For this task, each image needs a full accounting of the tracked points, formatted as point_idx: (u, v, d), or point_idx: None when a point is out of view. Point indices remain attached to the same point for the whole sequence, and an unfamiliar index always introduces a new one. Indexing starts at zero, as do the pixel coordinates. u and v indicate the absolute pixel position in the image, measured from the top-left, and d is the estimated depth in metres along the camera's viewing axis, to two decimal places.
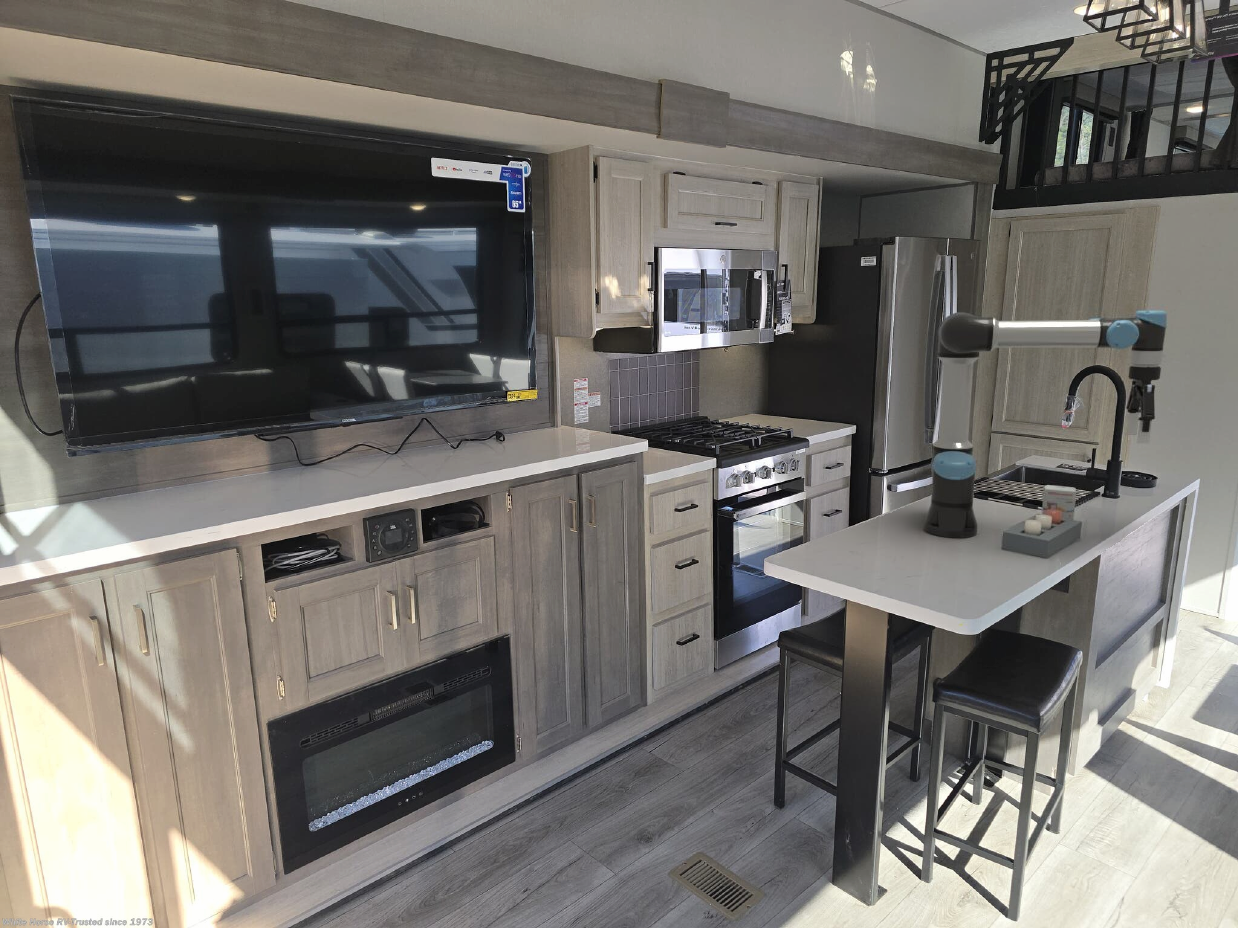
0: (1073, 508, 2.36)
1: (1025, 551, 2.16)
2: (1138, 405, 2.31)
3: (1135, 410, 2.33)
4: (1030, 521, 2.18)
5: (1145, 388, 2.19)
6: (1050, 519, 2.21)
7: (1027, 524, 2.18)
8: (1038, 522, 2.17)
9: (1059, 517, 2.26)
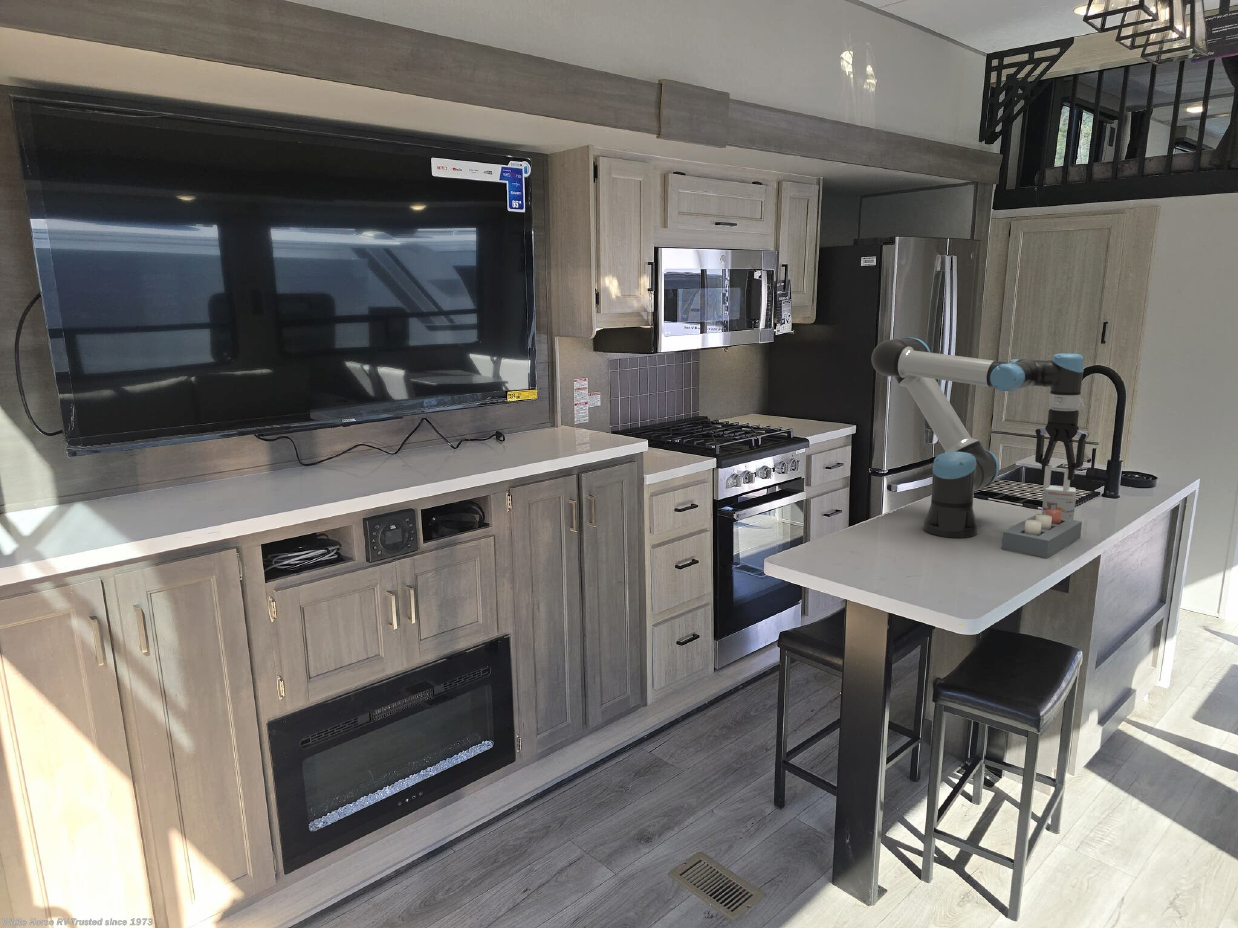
0: (1073, 508, 2.36)
1: (1025, 551, 2.16)
2: None
3: None
4: (1030, 521, 2.18)
5: None
6: (1050, 519, 2.21)
7: (1027, 524, 2.18)
8: (1038, 522, 2.17)
9: (1059, 517, 2.26)
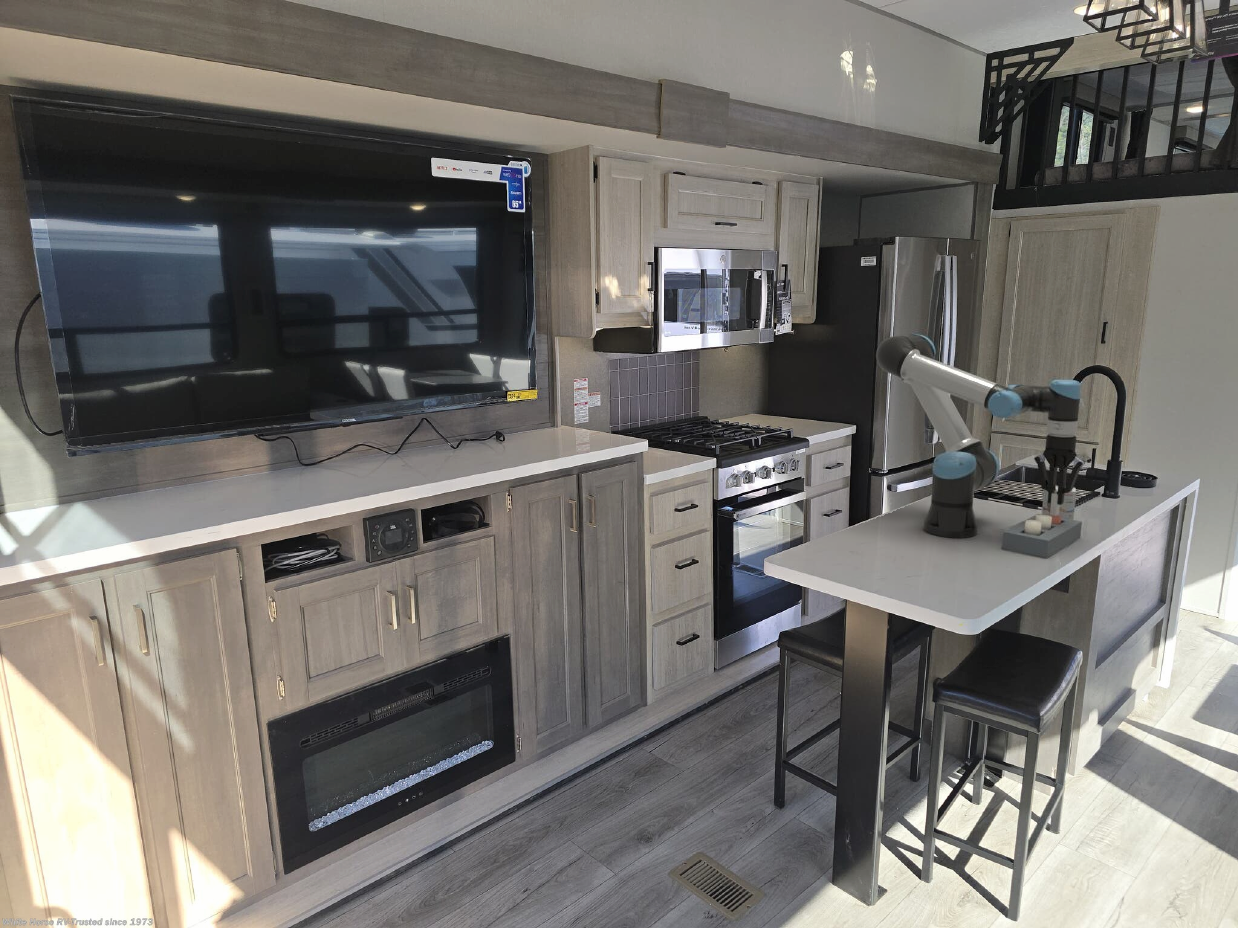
0: (1073, 508, 2.36)
1: (1025, 551, 2.16)
2: None
3: None
4: (1030, 521, 2.18)
5: None
6: (1050, 519, 2.21)
7: (1027, 524, 2.18)
8: (1038, 522, 2.17)
9: (1059, 521, 2.27)
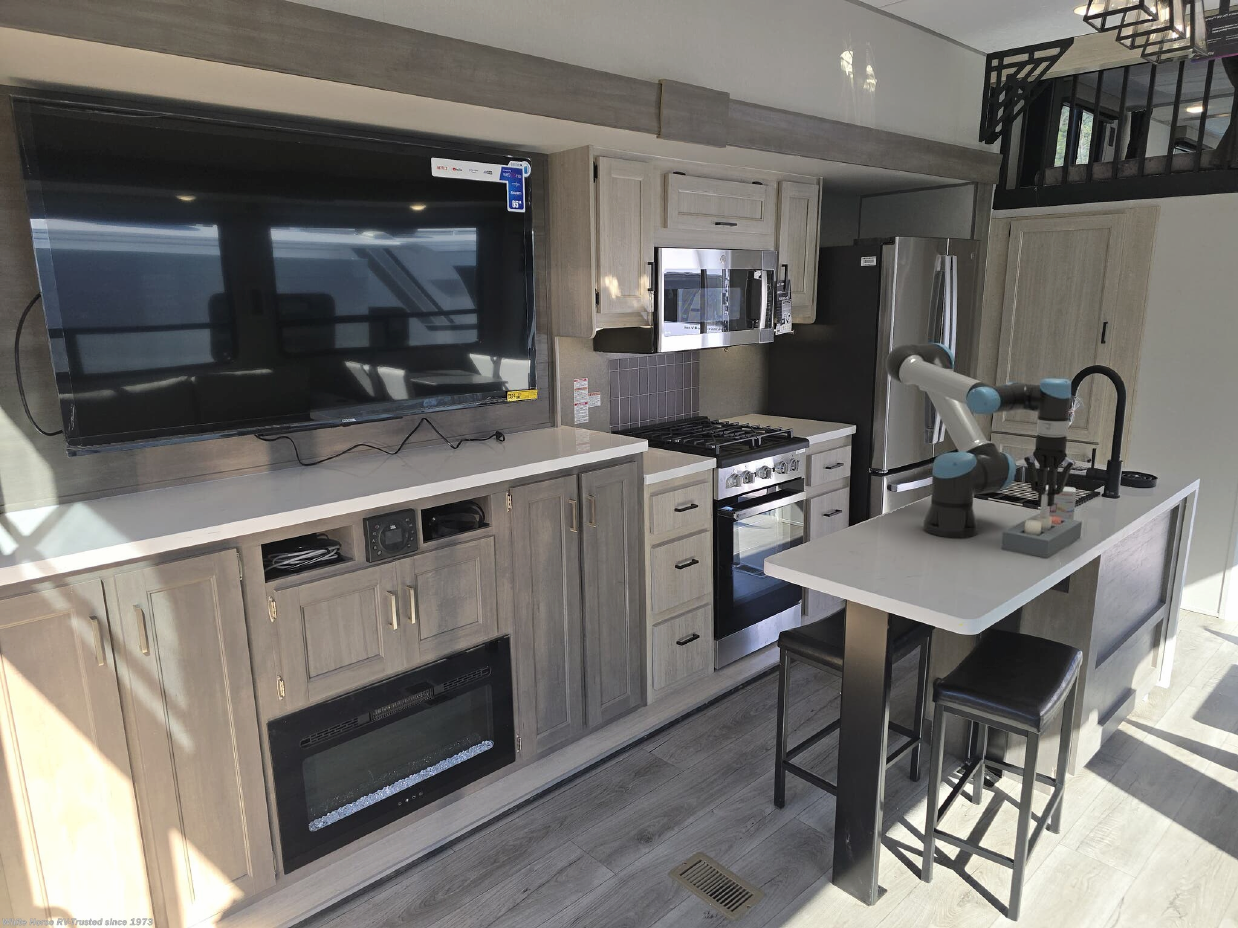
0: (1073, 508, 2.36)
1: (1025, 551, 2.16)
2: None
3: None
4: (1030, 521, 2.18)
5: None
6: (1050, 520, 2.21)
7: (1027, 524, 2.18)
8: (1038, 522, 2.17)
9: None
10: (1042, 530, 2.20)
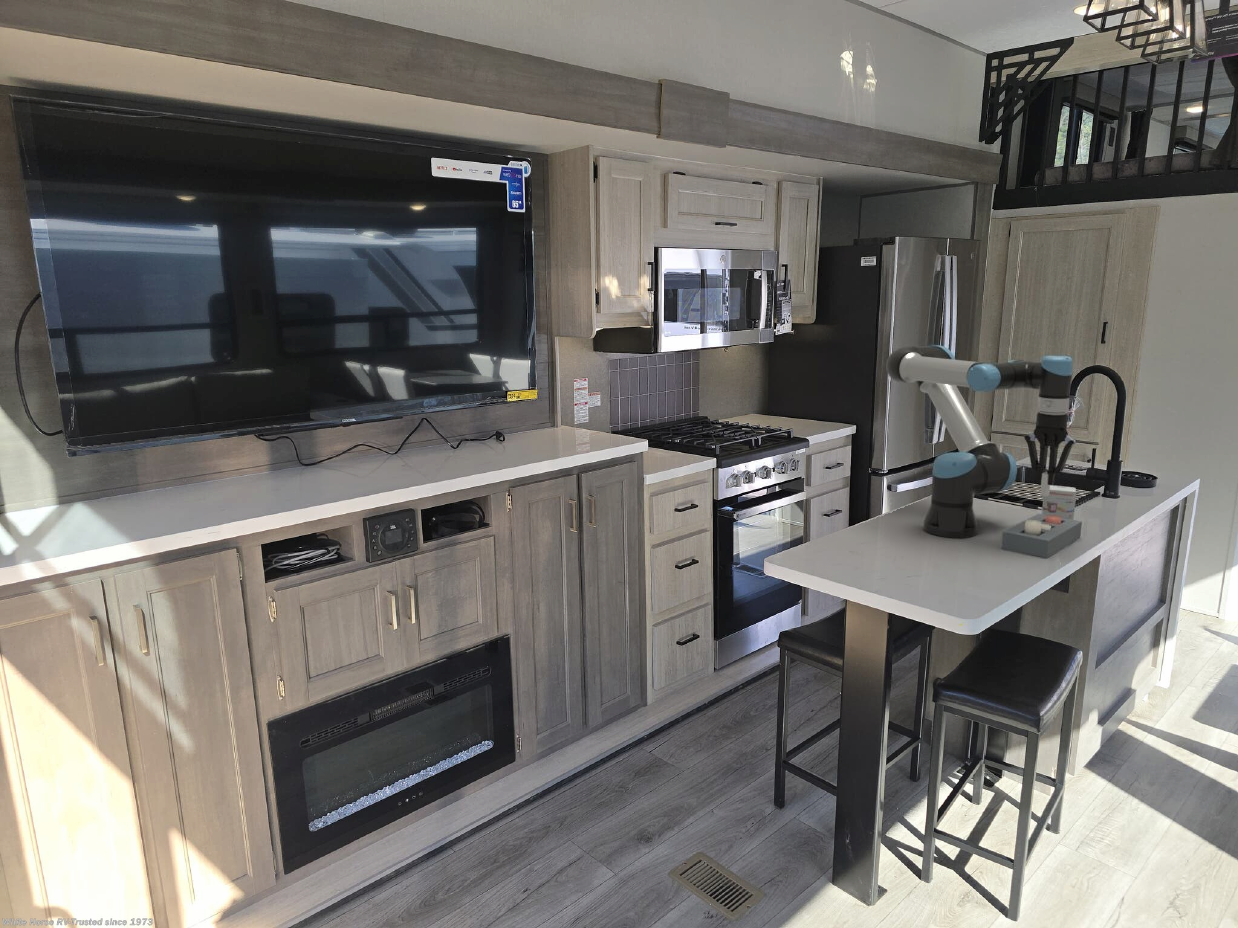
0: (1073, 508, 2.36)
1: (1025, 551, 2.16)
2: None
3: None
4: (1030, 521, 2.18)
5: None
6: (1049, 528, 2.22)
7: (1027, 524, 2.18)
8: (1038, 522, 2.17)
9: None
10: (1042, 530, 2.20)
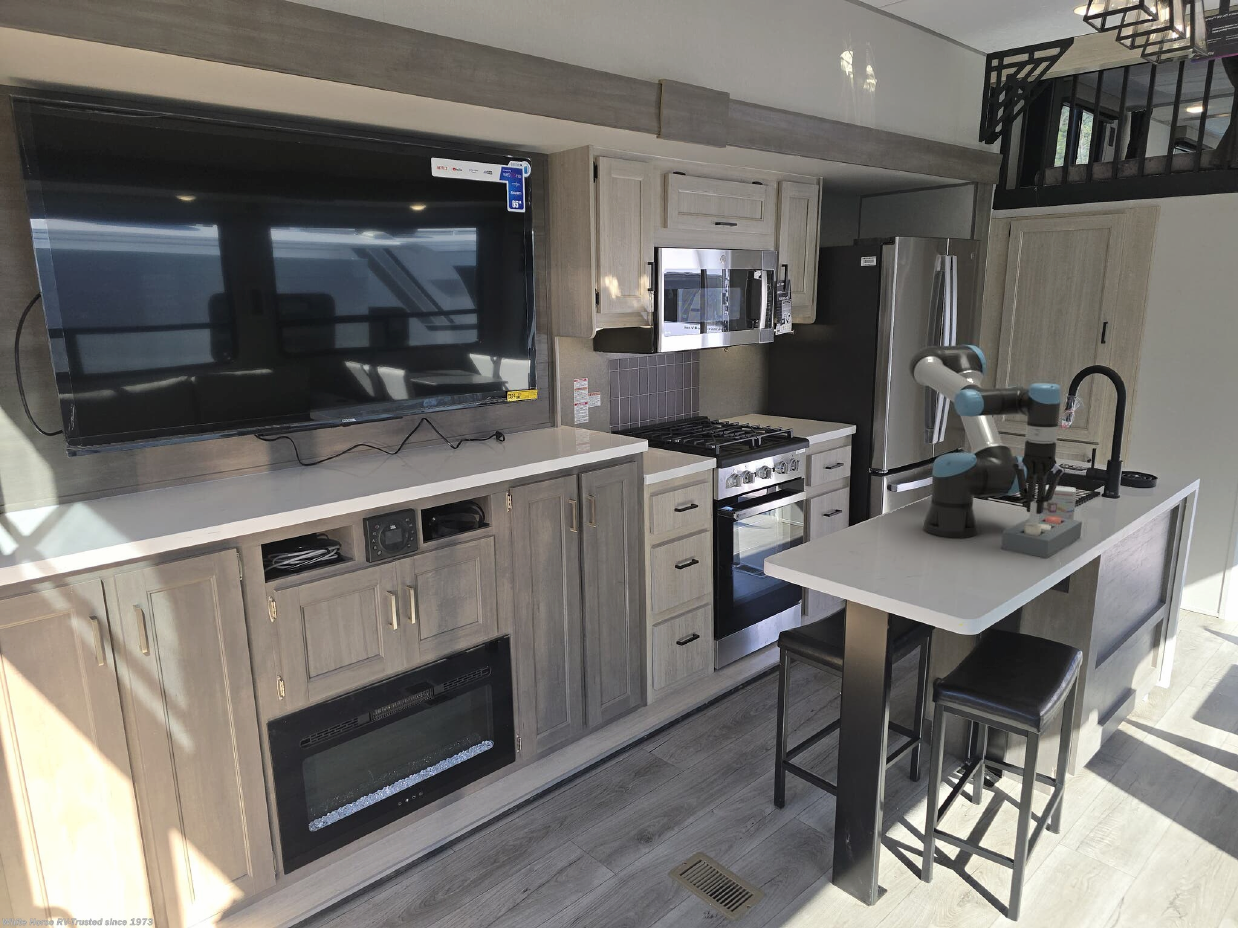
0: (1073, 508, 2.36)
1: (1025, 551, 2.16)
2: None
3: None
4: None
5: None
6: (1049, 528, 2.22)
7: (1027, 527, 2.18)
8: (1038, 525, 2.18)
9: None
10: (1042, 530, 2.20)
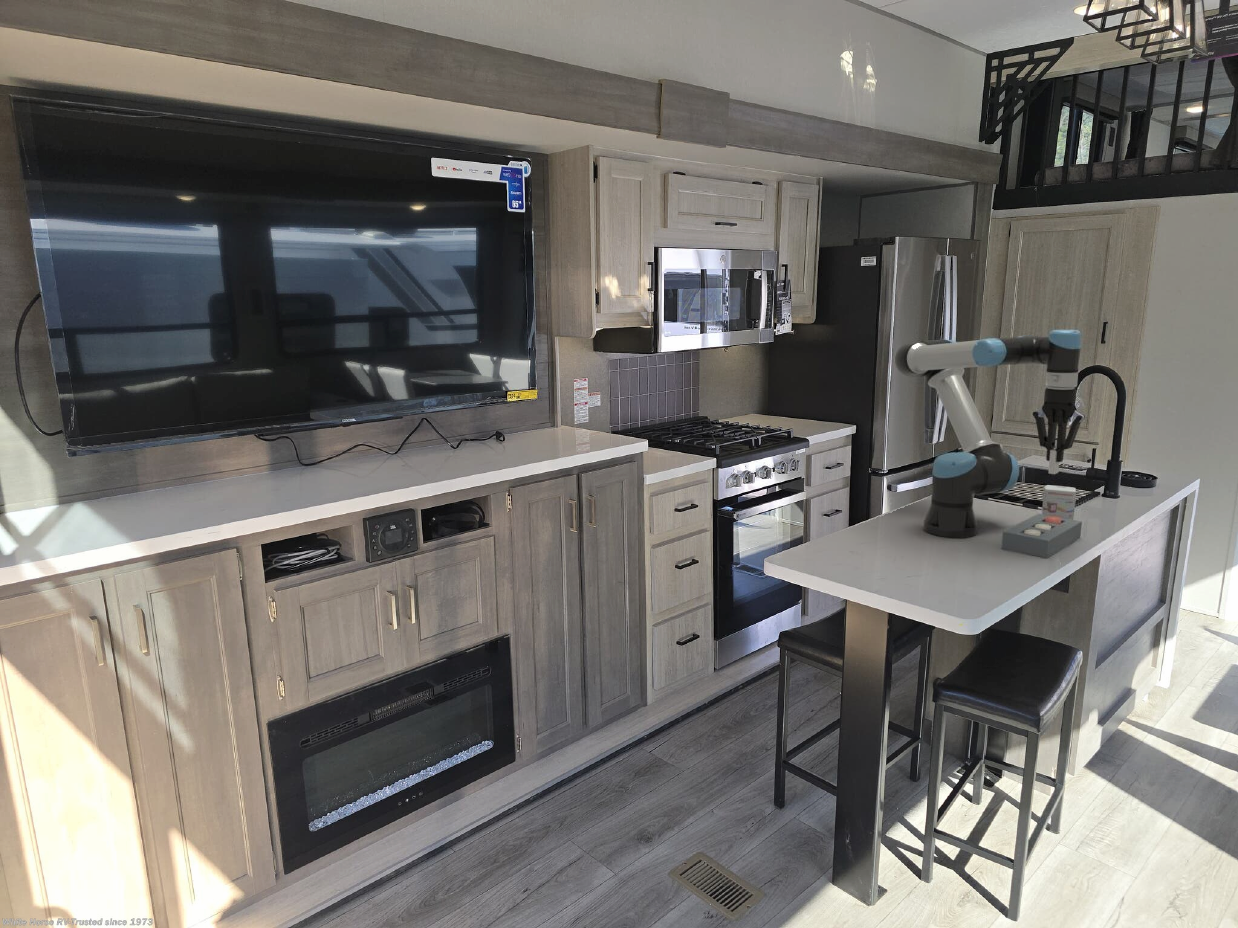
0: (1073, 508, 2.36)
1: (1025, 551, 2.16)
2: None
3: None
4: (1029, 531, 2.19)
5: None
6: (1049, 528, 2.22)
7: None
8: (1037, 532, 2.18)
9: None
10: (1042, 530, 2.20)
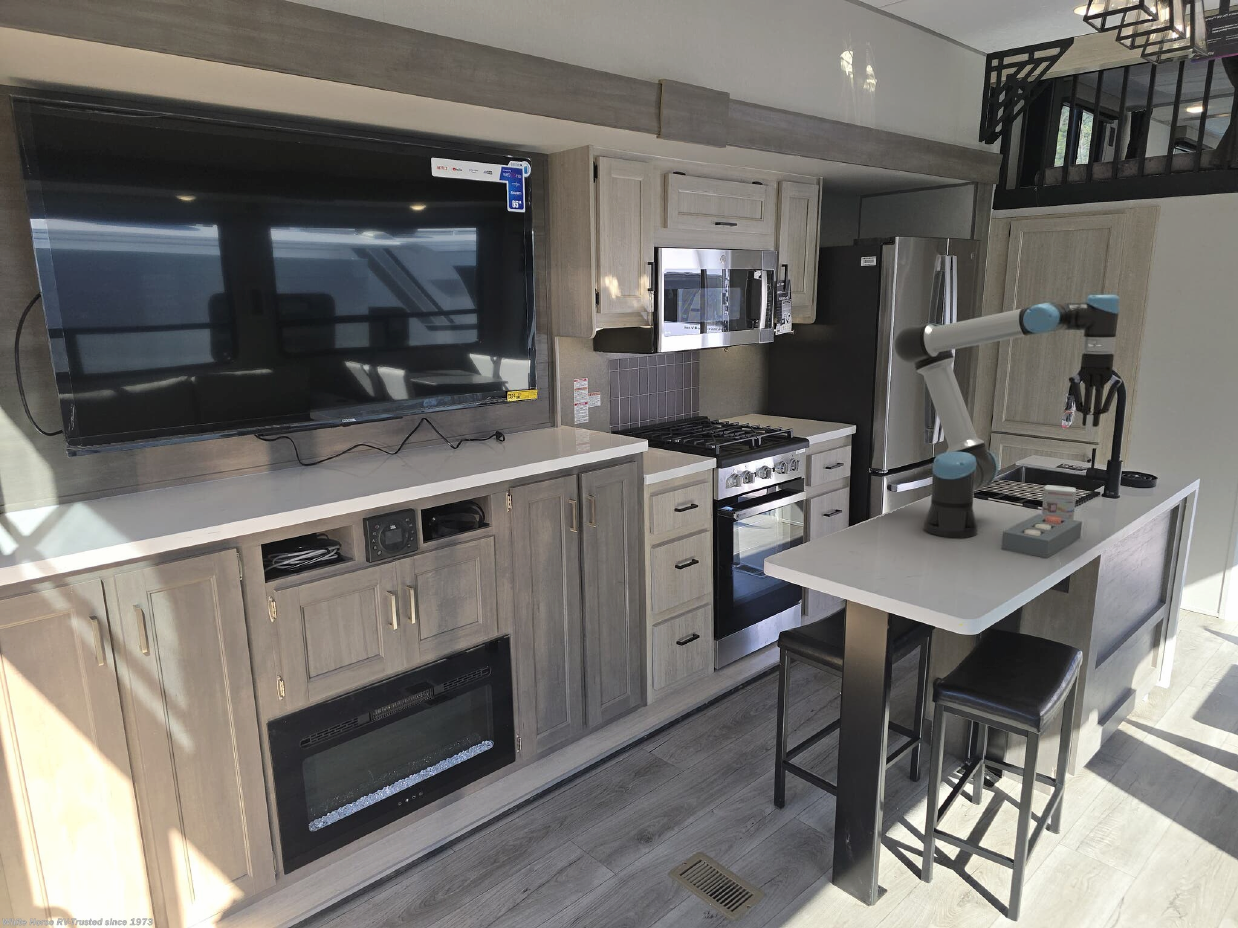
0: (1073, 508, 2.36)
1: (1025, 551, 2.16)
2: None
3: None
4: (1029, 531, 2.19)
5: None
6: (1049, 528, 2.22)
7: None
8: (1037, 532, 2.18)
9: None
10: (1042, 530, 2.20)
